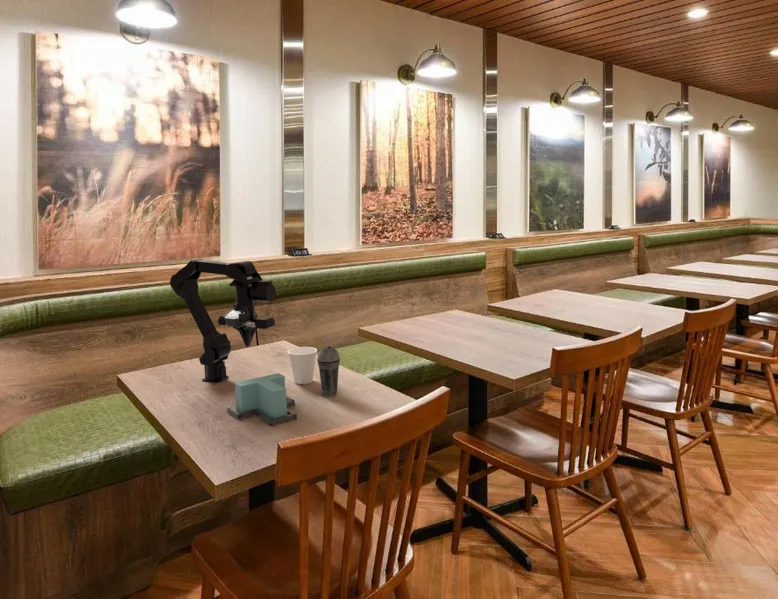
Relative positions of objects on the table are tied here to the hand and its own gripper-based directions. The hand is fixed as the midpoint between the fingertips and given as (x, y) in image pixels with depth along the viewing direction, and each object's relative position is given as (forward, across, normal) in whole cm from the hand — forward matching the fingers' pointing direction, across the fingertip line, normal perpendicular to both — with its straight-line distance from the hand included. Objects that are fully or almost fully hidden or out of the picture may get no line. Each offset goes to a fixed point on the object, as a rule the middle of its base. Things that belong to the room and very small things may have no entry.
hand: (247, 346), depth 192 cm
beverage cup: (+13, +30, 0) cm, 33 cm away
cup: (+13, +16, +8) cm, 22 cm away
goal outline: (+13, +21, -20) cm, 32 cm away
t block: (+13, +21, -20) cm, 32 cm away
